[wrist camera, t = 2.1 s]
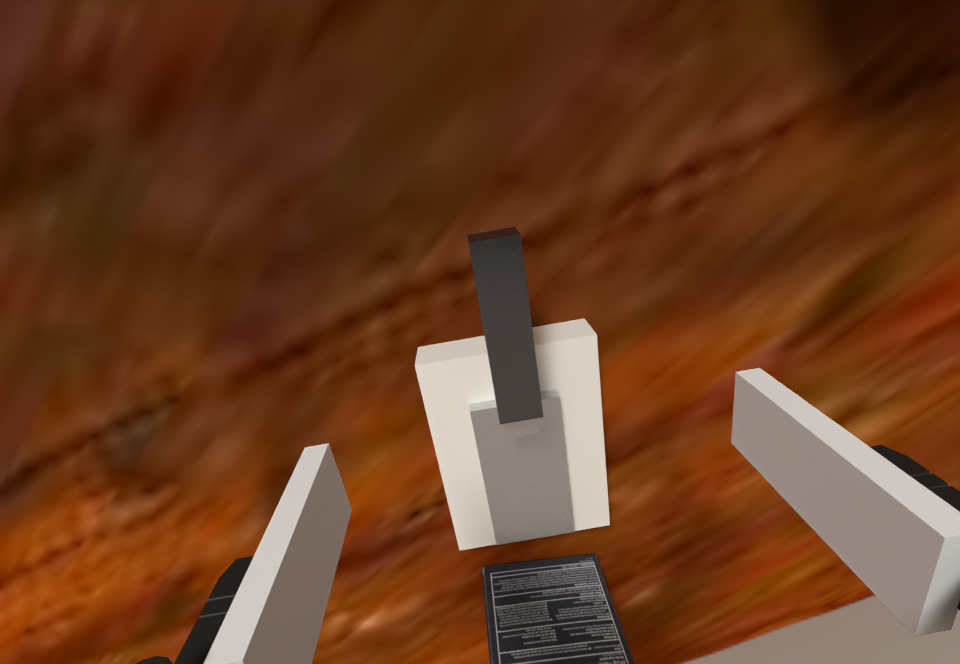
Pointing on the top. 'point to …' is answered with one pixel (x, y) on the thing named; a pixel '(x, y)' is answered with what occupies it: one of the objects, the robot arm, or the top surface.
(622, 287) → the top surface
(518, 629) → the small box
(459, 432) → the board
